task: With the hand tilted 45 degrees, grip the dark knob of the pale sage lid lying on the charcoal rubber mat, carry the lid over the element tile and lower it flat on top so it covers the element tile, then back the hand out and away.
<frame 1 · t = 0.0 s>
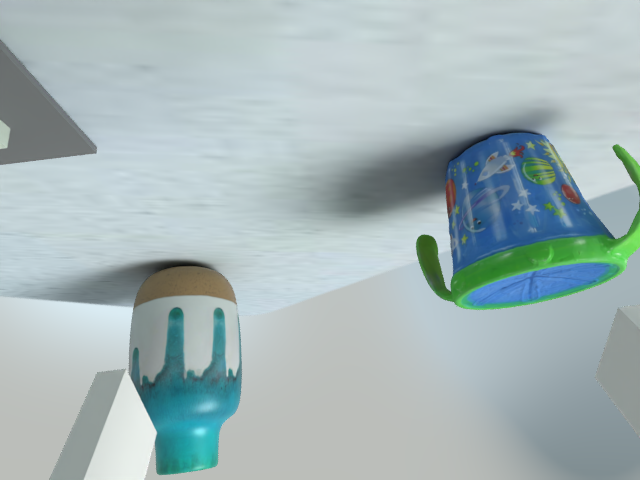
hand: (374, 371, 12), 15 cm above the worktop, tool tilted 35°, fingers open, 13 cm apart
vase: (186, 268, 48), on the worktop
snack cup: (494, 155, 33), on the worktop
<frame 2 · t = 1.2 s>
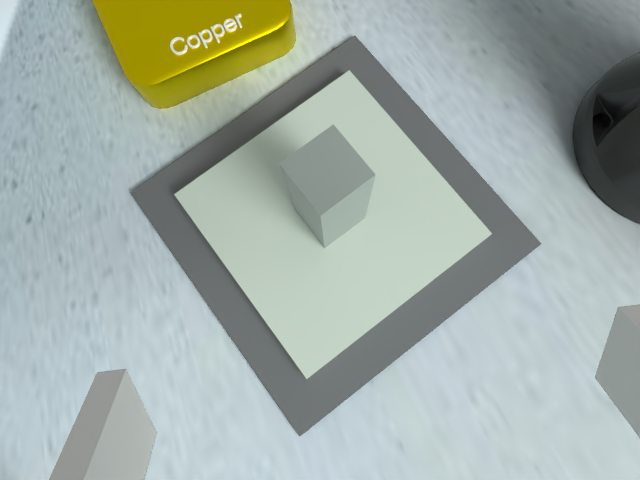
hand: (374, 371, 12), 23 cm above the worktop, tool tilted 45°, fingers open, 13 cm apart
sage lid: (329, 217, 37), resting on rubber mat
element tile: (198, 20, 42), on the worktop
rubber mat: (329, 218, 37), on the worktop
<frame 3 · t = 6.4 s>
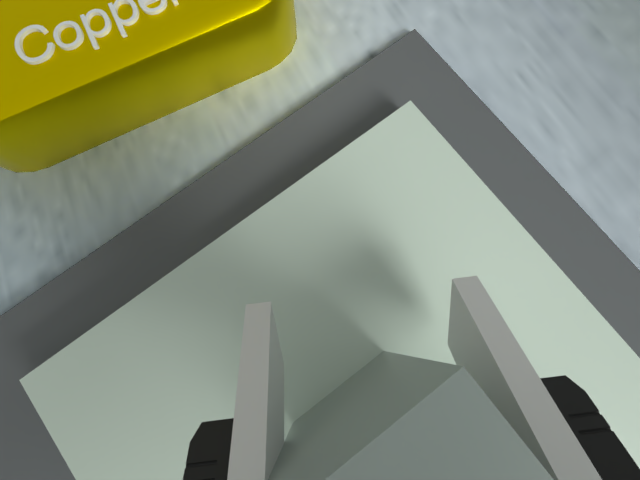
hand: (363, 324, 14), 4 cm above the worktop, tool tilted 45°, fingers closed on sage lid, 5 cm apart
sage lid: (371, 428, 17), resting on rubber mat, touching gripper
rubber mat: (370, 426, 17), on the worktop
when the fingers open (10 cm above the worktop, at t = 12.6 s): sage lid drops 2 cm, resting on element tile.
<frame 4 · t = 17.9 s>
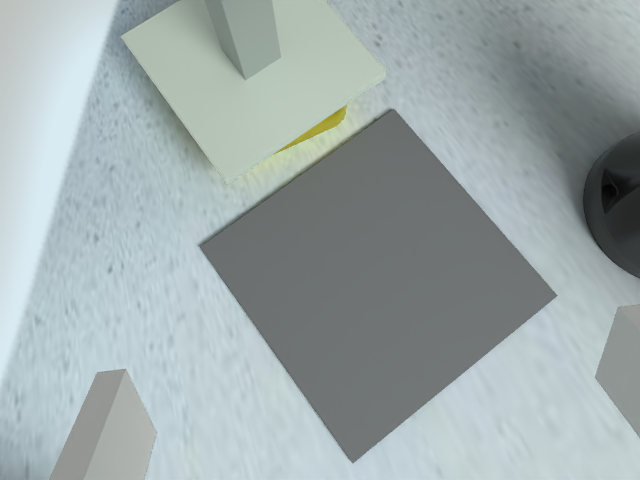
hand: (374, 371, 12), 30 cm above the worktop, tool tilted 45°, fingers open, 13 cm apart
sage lid: (253, 61, 43), point 4 cm above the worktop, touching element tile
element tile: (258, 92, 48), on the worktop, touching sage lid
rubber mat: (374, 271, 43), on the worktop
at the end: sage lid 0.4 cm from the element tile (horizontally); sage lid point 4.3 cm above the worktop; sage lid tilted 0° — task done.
